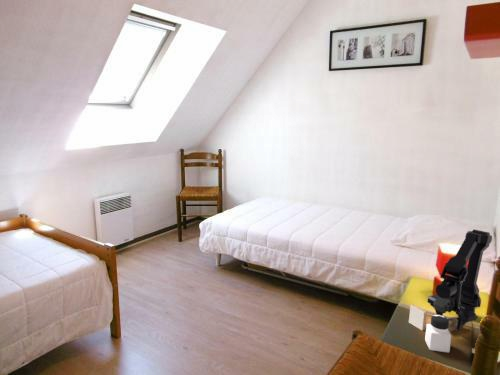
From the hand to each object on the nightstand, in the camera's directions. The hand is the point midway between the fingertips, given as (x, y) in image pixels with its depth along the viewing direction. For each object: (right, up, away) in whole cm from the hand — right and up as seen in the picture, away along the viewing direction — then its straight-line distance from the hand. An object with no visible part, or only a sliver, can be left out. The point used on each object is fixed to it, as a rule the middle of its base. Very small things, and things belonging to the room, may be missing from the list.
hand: (448, 326), depth 154 cm
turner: (-1, -1, 0) cm, 2 cm away
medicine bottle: (-11, -3, -12) cm, 17 cm away
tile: (-12, -1, +2) cm, 13 cm away
